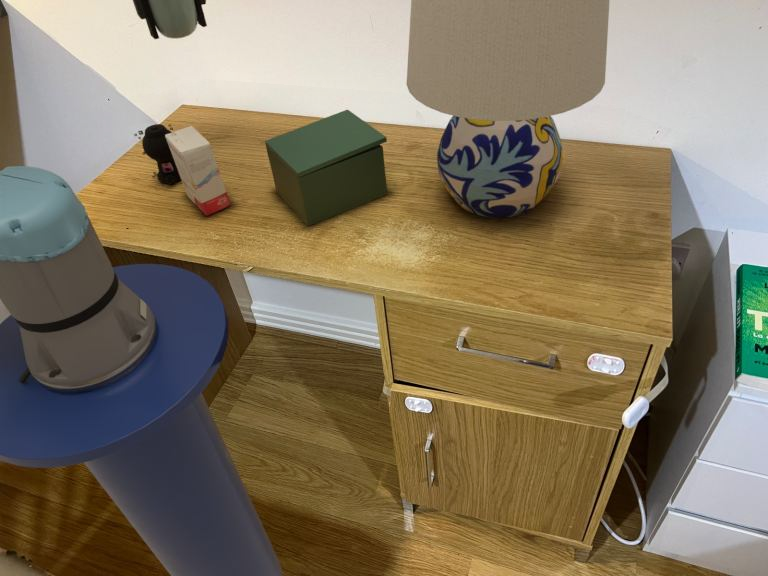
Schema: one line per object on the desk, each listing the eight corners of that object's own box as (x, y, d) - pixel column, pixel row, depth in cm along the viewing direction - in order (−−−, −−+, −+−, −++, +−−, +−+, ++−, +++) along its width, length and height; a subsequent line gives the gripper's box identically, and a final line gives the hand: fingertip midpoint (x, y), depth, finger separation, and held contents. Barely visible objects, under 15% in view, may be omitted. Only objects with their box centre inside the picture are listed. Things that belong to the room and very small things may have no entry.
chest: (350, 163, 106) (344, 118, 100) (387, 194, 98) (382, 146, 92) (276, 191, 101) (265, 145, 95) (308, 226, 93) (298, 178, 87)
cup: (211, 28, 106) (194, -33, 100) (184, 44, 101) (165, -20, 95) (176, 26, 109) (158, -34, 102) (148, 41, 104) (128, -21, 97)
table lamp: (440, 143, 109) (436, -117, 82) (593, 160, 100) (644, -123, 74) (388, 228, 91) (361, -70, 64) (570, 258, 82) (627, -72, 55)
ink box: (232, 206, 99) (213, 142, 91) (203, 218, 97) (181, 154, 89) (212, 185, 104) (192, 123, 96) (185, 196, 102) (162, 133, 95)
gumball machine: (151, 189, 105) (131, 138, 98) (153, 173, 109) (134, 123, 103) (189, 182, 106) (172, 131, 99) (190, 166, 110) (173, 116, 103)
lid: (348, 113, 100) (347, 109, 100) (387, 141, 92) (386, 136, 91) (265, 145, 95) (264, 140, 95) (298, 177, 87) (297, 173, 86)
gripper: (191, -136, 96) (227, 12, 111) (57, -116, 88) (115, 40, 103) (206, -134, 91) (241, 21, 106) (66, -112, 83) (125, 51, 98)
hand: (179, 30), depth 105 cm, fingers closed on cup, 8 cm apart
